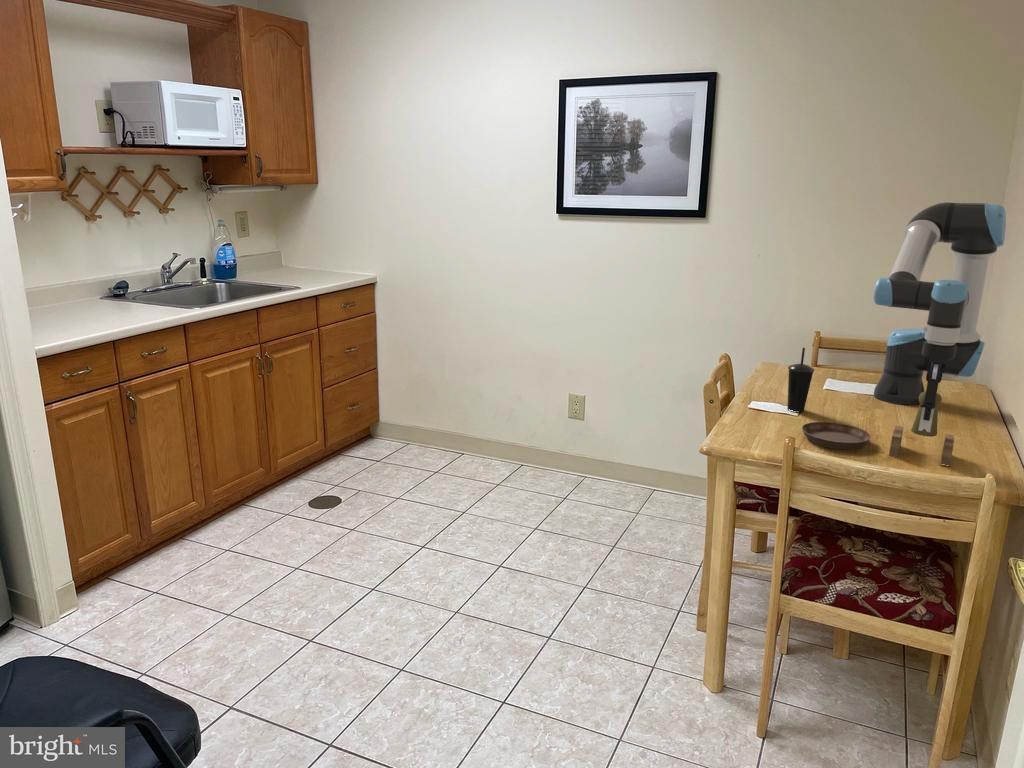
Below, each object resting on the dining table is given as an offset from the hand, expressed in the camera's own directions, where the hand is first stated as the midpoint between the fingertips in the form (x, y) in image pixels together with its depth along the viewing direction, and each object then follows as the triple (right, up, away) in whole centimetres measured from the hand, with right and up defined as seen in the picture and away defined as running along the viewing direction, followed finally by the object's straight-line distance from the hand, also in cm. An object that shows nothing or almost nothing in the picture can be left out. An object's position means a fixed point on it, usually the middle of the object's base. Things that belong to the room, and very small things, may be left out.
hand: (924, 428), depth 196 cm
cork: (0, -1, 0) cm, 1 cm away
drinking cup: (-20, +3, +38) cm, 43 cm away
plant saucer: (-19, -5, +12) cm, 23 cm away
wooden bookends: (0, -7, +2) cm, 8 cm away
